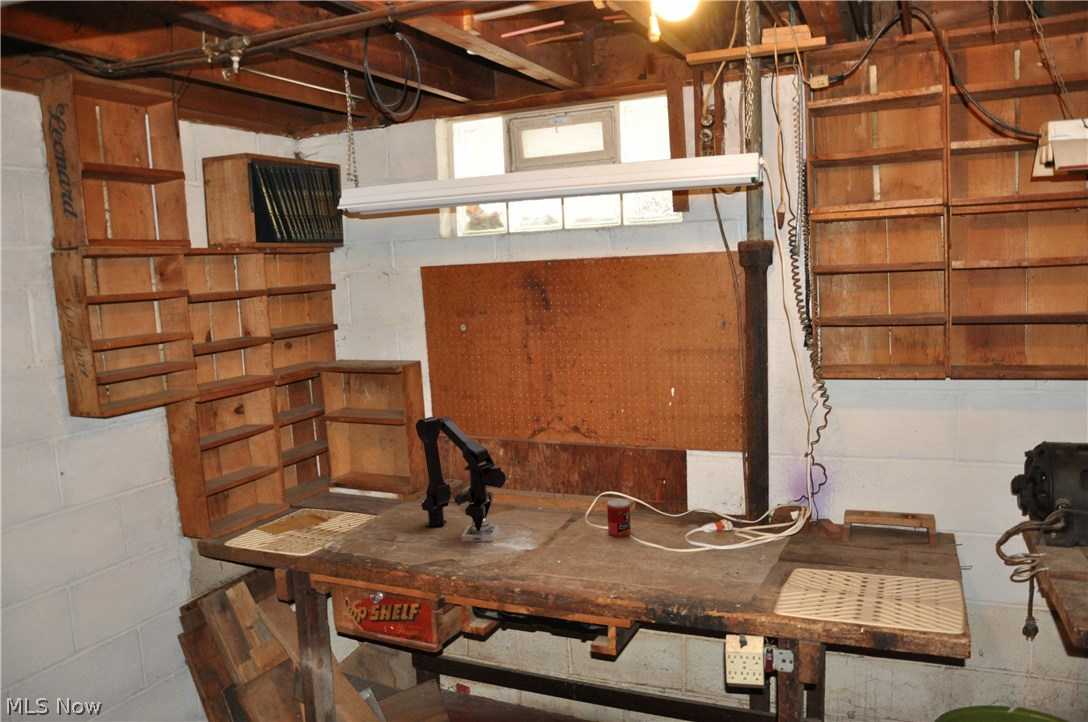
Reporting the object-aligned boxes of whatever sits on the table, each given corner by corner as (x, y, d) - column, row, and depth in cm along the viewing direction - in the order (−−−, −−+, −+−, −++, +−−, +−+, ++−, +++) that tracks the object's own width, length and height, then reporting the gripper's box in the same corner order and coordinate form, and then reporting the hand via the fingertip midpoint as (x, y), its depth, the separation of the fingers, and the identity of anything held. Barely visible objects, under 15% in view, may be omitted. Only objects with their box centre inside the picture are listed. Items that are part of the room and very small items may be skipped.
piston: (474, 532, 281) (473, 516, 281) (491, 532, 281) (490, 516, 280) (470, 538, 275) (469, 521, 275) (488, 538, 275) (487, 521, 274)
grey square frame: (468, 530, 284) (468, 525, 283) (499, 530, 282) (498, 525, 282) (461, 541, 272) (461, 536, 272) (493, 542, 271) (492, 536, 271)
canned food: (620, 539, 269) (619, 507, 268) (603, 533, 275) (602, 502, 274) (635, 533, 274) (634, 502, 273) (618, 528, 280) (617, 497, 279)
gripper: (461, 476, 286) (463, 518, 288) (449, 491, 268) (451, 536, 270) (492, 476, 285) (494, 518, 287) (481, 491, 266) (484, 536, 268)
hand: (480, 527), depth 278 cm, fingers open, 8 cm apart
